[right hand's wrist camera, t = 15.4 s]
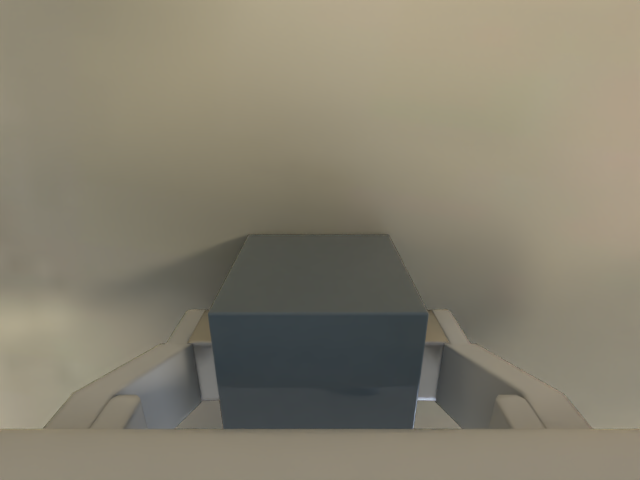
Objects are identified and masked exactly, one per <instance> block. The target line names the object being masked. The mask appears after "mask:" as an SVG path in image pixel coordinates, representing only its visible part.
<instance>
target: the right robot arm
mask: <svg viewBox="0 0 640 480" xmlns="http://www.w3.org/2000/svg"><path fill="white" fill-rule="evenodd" d="M427 311H428V313H429V317H428V325H427V332H426V340H425V347H424V355H423V362H422V370H421V377H420V385H419V393H418V400H434V401H436V403H437V404H438V405H439V406H440V407H441V408H442V409H443V410H444V411H445V412H446V413H447V414H448V415H449V416H450V417H451V418H452V419H453V420H454V421H455V422H456V423H457V424H458V425H459V426H460V427H461V428H462V429H174V428H175V427H176V426H177V425H179V424H180V423H181V422H182V421H183V420H184V419H185V418H186V417H187V416H188V415H189V414H190V413H191V412H192V411H193V410H194V409H195V408H196V407H197V406H198V405H199V404H200V403H201V401H203V400H219V394H218V387H217V380H216V372H215V365H214V358H213V350H212V343H211V336H210V328H209V321H208V312H209V310H205V309H199V310H188V311H186V313H185V314H184V316H183V318H182V319H181V321H180V322H179V324H178V325H177V327H176V329H175V330H174V332H173V333H172V335H171V336H170V338H169V340H168V341H167V343H166V344H159V345H157V346H156V347H154V348H152V349H150V350H149V351H147V352H145V353H143V354H141V355H140V356H138V357H136V358H134V359H133V360H131V361H129V362H127V363H125V364H124V365H122V366H120V367H118V368H117V369H115V370H113V371H111V372H110V373H108V374H106V375H104V376H102V377H101V378H99V379H97V380H95V381H94V382H92V383H90V384H88V385H86V386H85V387H83V388H81V389H79V390H78V391H76V392H74V393H72V395H71V396H70V397H69V398H68V399H67V401H66V402H65V403H64V404H63V405H62V407H61V408H60V409H59V410H58V411H57V412H56V414H55V415H54V416H53V417H52V418H51V420H50V421H49V422H48V423H47V424H46V426H45V427H44V428H43V429H0V480H640V429H592V427H591V426H590V425H589V424H588V423H587V421H586V420H585V419H584V418H583V416H582V415H581V414H580V413H579V412H578V410H577V409H576V408H575V407H574V406H573V404H572V403H571V402H570V401H569V399H568V398H567V397H566V396H565V395H564V394H563V393H562V392H560V391H558V390H556V389H555V388H553V387H551V386H549V385H548V384H546V383H544V382H542V381H541V380H539V379H537V378H535V377H534V376H532V375H530V374H528V373H527V372H525V371H523V370H521V369H520V368H518V367H516V366H514V365H512V364H511V363H509V362H507V361H505V360H504V359H502V358H500V357H498V356H497V355H495V354H493V353H491V352H490V351H488V350H486V349H484V348H483V347H481V346H479V345H477V344H471V343H470V342H469V340H468V339H467V337H466V335H465V334H464V332H463V331H462V329H461V327H460V326H459V324H458V323H457V321H456V319H455V318H454V316H453V315H452V313H451V311H450V310H448V309H441V310H427Z"/></svg>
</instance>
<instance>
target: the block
mask: <svg viewBox="0 0 640 480" xmlns="http://www.w3.org/2000/svg"><path fill="white" fill-rule="evenodd" d="M428 317H429V313H428V311H427V309H426V307H425V305H424V303H423V301H422V299H421V297H420V295H419V293H418V291H417V289H416V287H415V285H414V283H413V281H412V279H411V277H410V275H409V273H408V271H407V269H406V267H405V265H404V263H403V261H402V259H401V257H400V255H399V253H398V252H397V250H396V248H395V246H394V244H393V242H392V240H391V238H390V236H389V235H248V236H247V238H246V240H245V242H244V244H243V246H242V248H241V250H240V252H239V254H238V256H237V258H236V260H235V262H234V263H233V265H232V267H231V269H230V271H229V273H228V275H227V277H226V279H225V281H224V283H223V285H222V287H221V289H220V291H219V292H218V294H217V296H216V298H215V300H214V302H213V304H212V306H211V308H210V310H209V312H208V321H209V328H210V336H211V343H212V350H213V358H214V365H215V372H216V380H217V387H218V394H219V402H220V409H221V417H222V424H223V429H414V423H415V415H416V408H417V400H418V393H419V385H420V377H421V370H422V362H423V355H424V347H425V340H426V332H427V325H428Z"/></svg>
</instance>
